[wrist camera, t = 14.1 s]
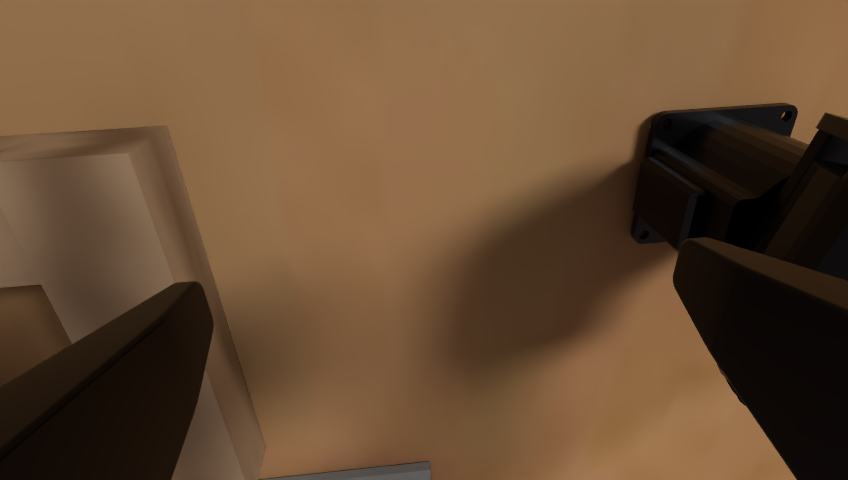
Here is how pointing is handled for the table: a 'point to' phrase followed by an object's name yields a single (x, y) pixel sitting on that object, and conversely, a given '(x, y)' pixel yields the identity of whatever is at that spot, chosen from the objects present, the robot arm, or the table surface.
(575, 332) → the table surface
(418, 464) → the mat
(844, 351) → the robot arm
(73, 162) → the pocket block
